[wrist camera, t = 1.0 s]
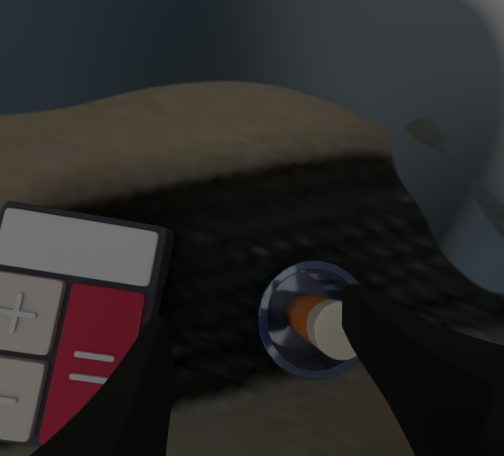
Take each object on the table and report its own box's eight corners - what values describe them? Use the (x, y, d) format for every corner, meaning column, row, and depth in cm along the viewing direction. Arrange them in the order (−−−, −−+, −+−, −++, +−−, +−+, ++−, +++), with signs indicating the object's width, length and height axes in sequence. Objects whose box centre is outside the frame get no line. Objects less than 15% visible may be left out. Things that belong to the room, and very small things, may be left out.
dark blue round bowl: (369, 318, 27) (394, 325, 23) (297, 385, 25) (310, 406, 21) (306, 243, 27) (320, 238, 23) (232, 306, 26) (234, 311, 22)
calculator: (-67, 442, 20) (-6, 197, 21) (-14, 410, 24) (33, 207, 25) (120, 465, 20) (165, 225, 22) (138, 429, 24) (175, 231, 26)
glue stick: (330, 315, 26) (381, 333, 17) (301, 341, 25) (340, 372, 17) (305, 285, 26) (344, 289, 18) (276, 310, 26) (302, 327, 17)
